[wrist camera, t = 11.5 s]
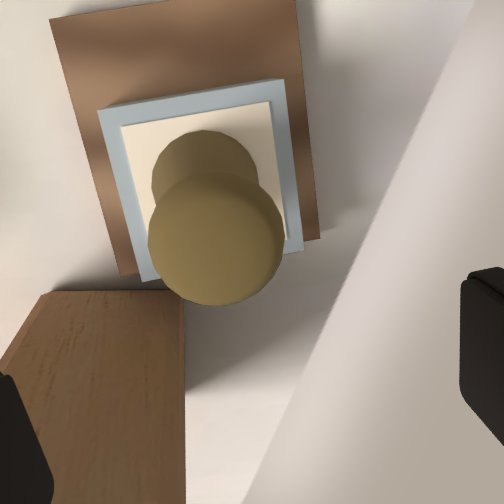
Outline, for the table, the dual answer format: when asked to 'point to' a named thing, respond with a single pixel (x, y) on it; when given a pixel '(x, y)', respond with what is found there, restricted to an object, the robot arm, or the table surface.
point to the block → (106, 393)
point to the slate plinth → (195, 119)
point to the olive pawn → (212, 221)
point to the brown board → (180, 78)
